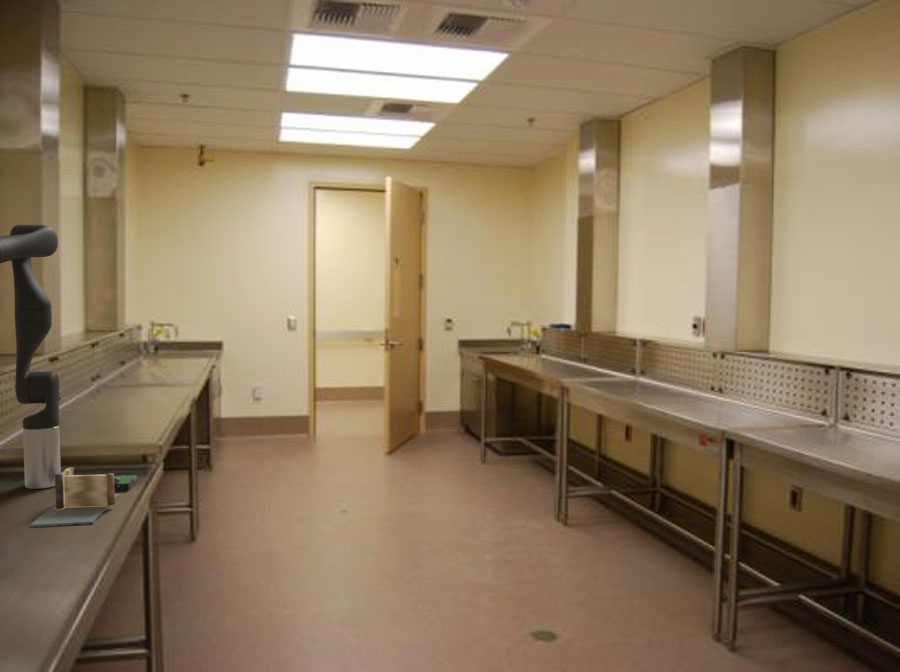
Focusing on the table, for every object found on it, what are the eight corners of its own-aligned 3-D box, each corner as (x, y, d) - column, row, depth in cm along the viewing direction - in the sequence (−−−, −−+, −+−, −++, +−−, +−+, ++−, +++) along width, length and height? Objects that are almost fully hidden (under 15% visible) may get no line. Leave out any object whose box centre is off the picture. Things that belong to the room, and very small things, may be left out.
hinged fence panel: (64, 507, 187) (63, 476, 187) (67, 505, 189) (66, 474, 189) (113, 506, 189) (112, 474, 188) (115, 503, 191) (115, 473, 190)
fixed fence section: (68, 500, 197) (67, 465, 197) (75, 499, 198) (74, 465, 197) (55, 511, 187) (53, 475, 187) (62, 511, 187) (61, 474, 187)
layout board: (65, 497, 199) (64, 495, 199) (119, 495, 202) (119, 493, 202) (30, 527, 175) (30, 524, 175) (93, 523, 178) (92, 521, 178)
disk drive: (73, 495, 204) (130, 492, 207) (73, 485, 204) (129, 482, 207) (85, 485, 214) (138, 482, 217) (84, 476, 214) (138, 473, 217)
